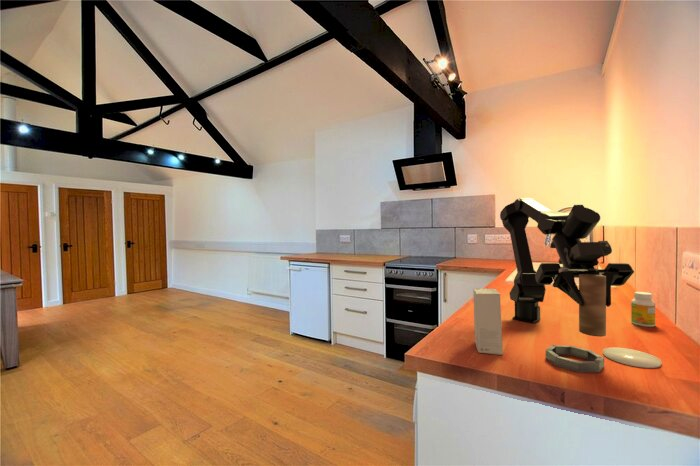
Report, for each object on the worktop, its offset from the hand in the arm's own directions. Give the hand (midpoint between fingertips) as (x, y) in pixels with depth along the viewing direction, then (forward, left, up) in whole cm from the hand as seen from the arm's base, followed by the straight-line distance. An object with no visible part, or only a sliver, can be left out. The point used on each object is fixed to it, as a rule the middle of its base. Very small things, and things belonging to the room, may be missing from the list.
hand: (595, 305), depth 68 cm
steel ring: (-4, -2, -13) cm, 14 cm away
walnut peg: (-1, +1, -7) cm, 7 cm away
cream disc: (+4, +10, -13) cm, 17 cm away
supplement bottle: (+2, +45, -14) cm, 47 cm away
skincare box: (-21, -8, -14) cm, 26 cm away
